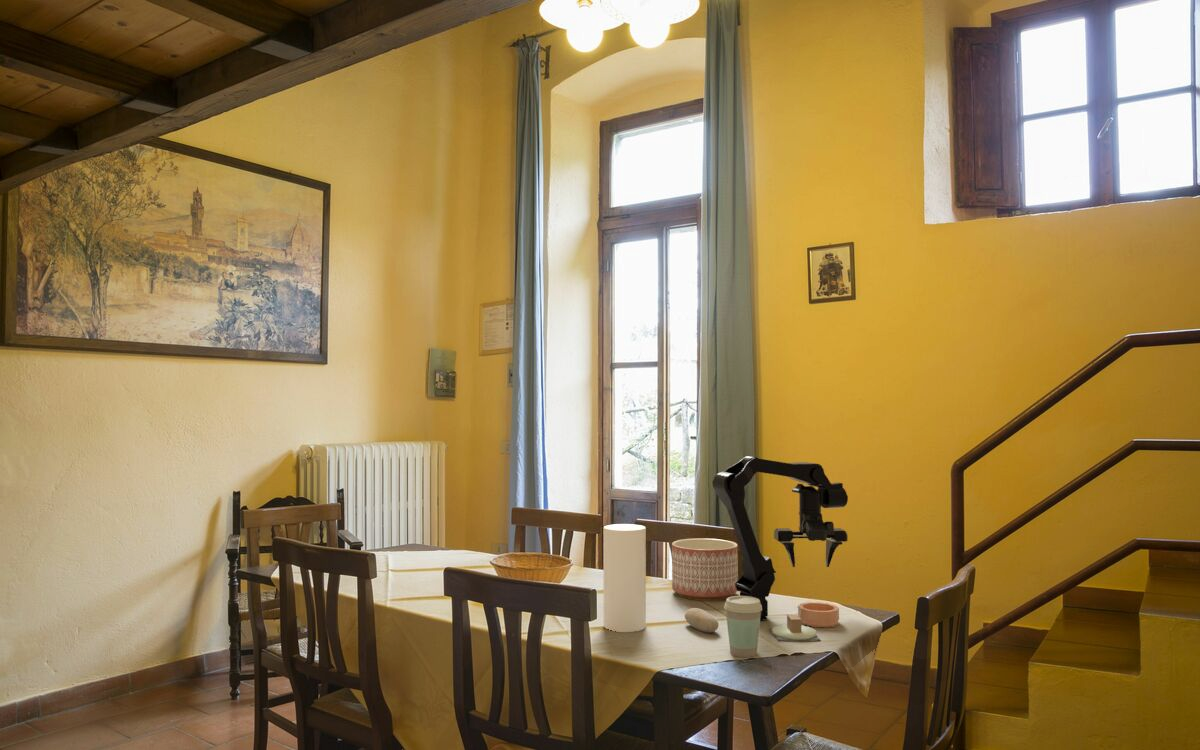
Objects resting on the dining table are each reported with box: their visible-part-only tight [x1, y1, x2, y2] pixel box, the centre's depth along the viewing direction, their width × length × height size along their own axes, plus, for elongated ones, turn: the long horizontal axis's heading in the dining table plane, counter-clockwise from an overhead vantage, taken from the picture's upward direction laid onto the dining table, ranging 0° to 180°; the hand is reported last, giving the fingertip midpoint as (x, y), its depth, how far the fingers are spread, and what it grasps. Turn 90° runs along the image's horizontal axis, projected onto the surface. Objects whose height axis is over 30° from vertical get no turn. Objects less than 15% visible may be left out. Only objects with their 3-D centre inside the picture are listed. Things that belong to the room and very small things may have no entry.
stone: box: [684, 607, 720, 633], centre depth 203 cm, size 6×6×12 cm
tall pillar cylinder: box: [603, 523, 647, 633], centre depth 206 cm, size 11×11×25 cm
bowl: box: [797, 601, 840, 628], centre depth 209 cm, size 10×10×4 cm
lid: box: [771, 614, 817, 640], centre depth 198 cm, size 10×10×4 cm
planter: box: [671, 537, 739, 601], centre depth 240 cm, size 19×19×15 cm
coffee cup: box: [723, 595, 762, 658], centre depth 184 cm, size 8×8×12 cm
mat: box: [768, 627, 821, 642], centre depth 198 cm, size 10×10×1 cm
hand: (810, 566), depth 220 cm, fingers open, 9 cm apart
